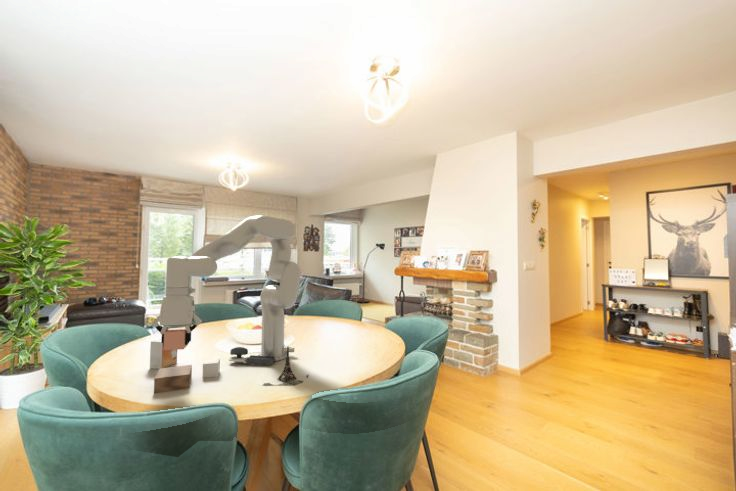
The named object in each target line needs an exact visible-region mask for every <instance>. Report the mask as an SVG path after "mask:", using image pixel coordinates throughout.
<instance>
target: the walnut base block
mask: <svg viewBox="0 0 736 491" xmlns="http://www.w3.org/2000/svg"><path fill="white" fill-rule="evenodd" d="M192 370H193V364H187V365H180V366H179V365H178V366H171V367H170V366H168V367H165V368H160V369H158V371H157V373H156V374H155V377H154V381H153V382H154V383H153V385H154V386H153V394H160V393H166V392H172V391H173V392H174V391H179V390H180V391H181V390H188V389H190V386H191V381H192V372H193V371H192Z"/></svg>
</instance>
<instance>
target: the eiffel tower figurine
mask: <svg viewBox="0 0 736 491" xmlns="http://www.w3.org/2000/svg"><path fill="white" fill-rule="evenodd" d="M286 347H287V356H286V358H285V364H284V367H283V370H282V371H281V374H280V375H279V377H278V378H277V379H276V380H277V381H279V382H281V383H279V384H272V383H270V382H265V383H263V384H262V386H276V387H277V386H294V387H295V386H298V385H300V384H301V385H302V384H303V383H304V380H303V379H302V380H300V379H298V378H297V376H295V374H294V371H293V370H292V367H291V365H290V364H291V363H290V352H289V347H290V346H286ZM305 377H306V379H308V378H309V374H306V376H305Z"/></svg>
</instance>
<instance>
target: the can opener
mask: <svg viewBox="0 0 736 491" xmlns="http://www.w3.org/2000/svg"><path fill="white" fill-rule="evenodd" d="M248 354H249V349H248V348H246V347H242V346H238V347H233V348H231V349H230V355H231V357H229V358H228V361H229V362H235V363H245V364H246V365H247V366H263V367H265V366H267V367H271V366H273V365H274V364H275V363H276V361H275V357H274V356H258V355H252V354H251V355H250V356H246V357H244V356H245V355H248ZM233 355H234V356H233Z"/></svg>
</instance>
